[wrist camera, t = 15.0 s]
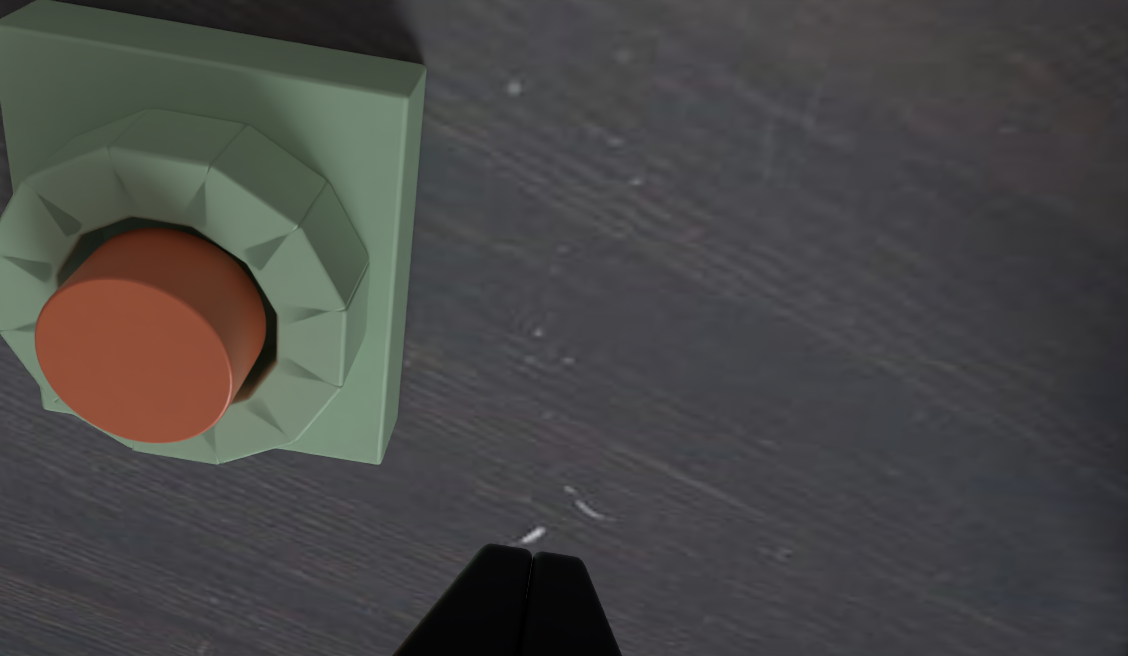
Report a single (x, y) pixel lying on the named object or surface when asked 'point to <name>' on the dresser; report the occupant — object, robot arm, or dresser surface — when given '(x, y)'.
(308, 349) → the button block
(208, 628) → the dresser surface
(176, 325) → the button
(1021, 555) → the dresser surface
